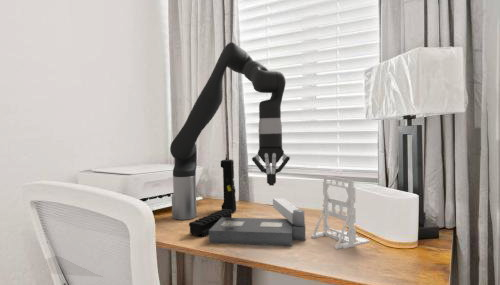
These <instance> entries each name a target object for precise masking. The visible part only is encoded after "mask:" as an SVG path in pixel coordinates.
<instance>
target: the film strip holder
mask: <svg viewBox="0 0 500 285" xmlns="http://www.w3.org/2000/svg"><path fill="white" fill-rule="evenodd" d="M328 180H330V182H328ZM333 181H335V183H333ZM339 182H341V183H342V184H341V185H340V184H339ZM345 183H347V185H345ZM354 184H355V183H354V179H348V178H342V177H336V176H330V175H326V174H324V175H323V181H322V192H323V193H322V194H323V203H322V210H321V213H320V216H319V218H318V221H317V224H316V226H315V228H314V232H313V234H311V235H310V238H311V239H317V238H321V237H324V236H326V237H329V238H331V239H334V240H335V241H338V242H337V244H335V245H334V249H335V250H339V249H344V250H346V249H349V248H355V246H359V245H365V244H368V243H370V242H371V241H370V239H367V238H365V237H362V236H361V237H360V236H359V235H358V234H357V232H356V230H357V229H356V227H355V223H356V222H357V221H356V218H357V216H356V207H355V203H356V187H354ZM329 186H333V187H337V188H342V189H345V190H346V193H347V196H348V197H347V199H346V201H344V200H341V199H336V198H331V197H330V196H329V192H328V189H329ZM329 204H331V209H329ZM336 205H337V206H338V207H339V208H338V209H339V210H338V212H337V211H336ZM344 208H346V214H344V211H343V210H344ZM323 214H324V215H323ZM323 216H324V217H323ZM322 217H323V231H318V230H319V226H320V223H321V221H322ZM329 217H334V218H336V219H339V220H342V221H345V222H344V225H343V227H342V229H339V230H337V229H333V228H331V227H330V225H329V222H328V220H329ZM346 227H348V229H347V231H346Z"/></svg>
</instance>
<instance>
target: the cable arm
mask: <svg viewBox="0 0 500 285" xmlns="http://www.w3.org/2000/svg"><path fill="white" fill-rule="evenodd" d="M272 208H274V210H276V211H277V212H278V213H279V214H280V215H282V216H283V217H284V219H287V220H288V221H289V222H291V223H292V224H294V225H296V226H303V225H305V226H306V221H305V220H306V218H305V210H304V209H300V208H298V207H297V206H295V205H293V204H292V202H289V201H288V200H286V198H284V197H274V198H272Z"/></svg>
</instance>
